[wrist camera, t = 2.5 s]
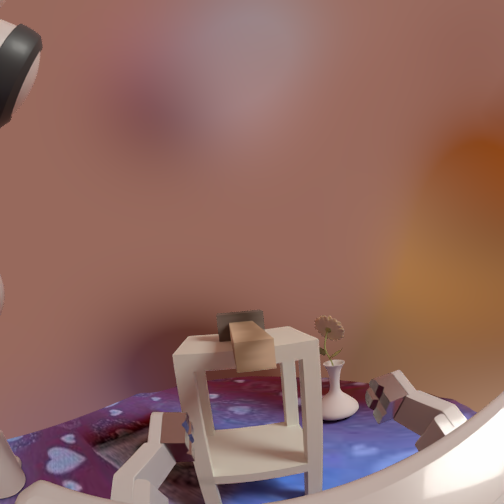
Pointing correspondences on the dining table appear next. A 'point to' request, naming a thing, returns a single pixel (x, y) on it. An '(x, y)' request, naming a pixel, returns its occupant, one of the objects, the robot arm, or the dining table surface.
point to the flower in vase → (334, 374)
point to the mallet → (247, 340)
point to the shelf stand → (257, 437)
